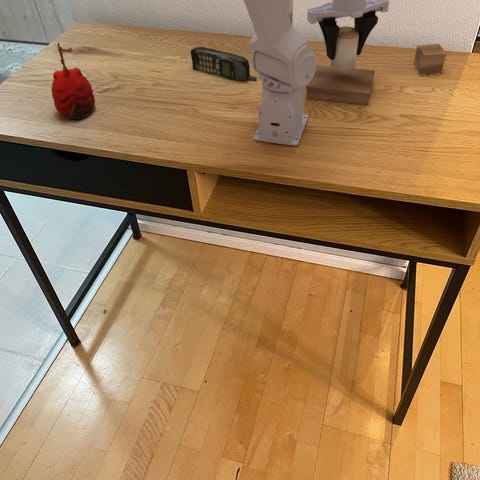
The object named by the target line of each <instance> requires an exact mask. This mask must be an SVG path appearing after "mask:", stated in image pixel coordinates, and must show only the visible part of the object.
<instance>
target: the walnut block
mask: <svg viewBox="0 0 480 480" xmlns="http://www.w3.org/2000/svg"><path fill="white" fill-rule="evenodd" d="M446 56H447V52H446V51H445V49H444V48H443V47H442V46H441V45H440V43H430V44H417V45H416V50H415V54H414V58H413V65H414V66H415V67H414V66H413V65H412V66H413V67H414V69H415V68H416V69H415V71H416V70H417V71H418V72H417V71H416V72H417V74H418V73H419V74H420V75H419V74H418V75H419V76H422V75H421V74H434V75H437V74H436V73H441V74H442V71H443V68H444V64H445V60H446Z"/></svg>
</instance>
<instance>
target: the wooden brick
mask: <svg viewBox="0 0 480 480" xmlns="http://www.w3.org/2000/svg"><path fill="white" fill-rule="evenodd" d="M375 72H376V70H375V69H374V70H373V69H366V68H365V69H363V68H355V67H354V68H353V69H352V70H349V71H338V70H335V69H333V68H332V67H331V65H324V64H317V66H316V71H315V74H314V76H313V78H312V80H311V81H310V82H309V83H308V84H307V85H306V86H305V90H306V97H305V98H306V99H312V100H321V101H331V102H337V103H338V102H339V103H347V104H355V105H356V104H357V105H362V106H364V105H366V106H367V105H368V101H369V98H370V94H371V91H372V86H373V81H374V77H375V74H376V73H375Z"/></svg>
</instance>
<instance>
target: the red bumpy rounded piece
mask: <svg viewBox="0 0 480 480" xmlns="http://www.w3.org/2000/svg"><path fill="white" fill-rule="evenodd" d="M54 46H55V47H56V49H57V50H58V54H59V56H60V60H59V61H60V64H61V65H62V70H55V71H54V72H53V74H52V76H53V81H52V84H51V90H50V91H51V93H52V94H51V97H52V100H53V105H54V108H55V109H56V112H57V113H59V114H60V115H61V116H62V117H64V118H67V119H71V120H72V119H74V120H77V119H82V118H84V117H86V116H88V115H89V114H90V113H91V112H92V111H93V110H94V109H95V106H96V97H95V94H94V90H93V88H92V85H91V83H90V81H88V79H87V77H85V76H84V75H83V73H82V70H81V69H80V68H78V67H74V68H68V67H67V65H66V64H65V63H66V62H65V59H64V55H63V54H64V53H65V52H67V53H71V54H72V53H74V52H73V48H72V47H69V48H68V49H67V48H63V47H62V46H61V45H60V43H59V42H58V43H57V45H56V44H54ZM63 52H64V53H63Z"/></svg>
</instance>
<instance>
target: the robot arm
mask: <svg viewBox="0 0 480 480" xmlns="http://www.w3.org/2000/svg"><path fill="white" fill-rule="evenodd" d="M243 2H244V5H245V8H246V10H247V12H248V15H249V18H250V21H251V24H252V27H253V29H254V32H255V33H254V34H253V36H252V37H251V39H250V41H249V43H248V45H249V48H250V52H251V55H250V56H251V57H250V58H251V65H252V66H251V67H252V69H253V70H254V71H255V72H256V73H258V80H260V81H261V90H262V93H261V97H262V98H261V102H260V105H259V107H258V110H257V111H258V113H257V114H258V115H257V116H258V127H257V129H256V131H255V134H254V136H253V140H254V141H259V142H266V143H273V144H279V145H287V146H288V145H289V146H294V147H295V146H299V143H300V142H301V141H300V140H301V137H302V136H303V134H304V130H305V127H306V124H307V122H308V120H309V115H308V114H304V103H305V102H304V101H305V88H306V85H307V84H308V83H309V82H310V81H311V80H312V78H313V76H314V74H315V71H316V66H317V65H318V64H317V63H318V62H317V55H316V53H315V52H314V51H313V50H312V49H311V48H310V46H309V43H308V41H307V40H306V39H305V38H304V37H303V35H301V33H300V32H299V31H298V30H296V29H295V28H294V26H293V25H292V24H291V21H290V17H289V14H288V10H287V7H286V3H285V0H243ZM389 5H390V0H332V1H330V2H327V3H324V4H321V5H318V6H316V7H311V8H307V12H306V13H307V15H306V16H307V17H306V20H307V22H309V24H310V25H315V24H318V26H319V27H320V28H319V29H320V30H321V33H322V36H323V39H324V43H325V49H326V51H325V52H326V56H327V57H328V59H329V60H330V61H331V60H334V59H335V53H336V42H337V37H338V33H339V30H340V27H341V26H338V24H337V22H338V20H337V21H336V19H342V18H348V17H350V18H353V19H354V22H353V23H354V25H353V26H354V27H353V28H355V29H357V30H358V33H359V40H358V48H357V56H361V53H362V51H363V47H364V46H365V44H366V41H367V39H368V37H369V35H370V33H371V32H372V31H373V29H374V28H375V27H376V26H377V24H378V21H379V17H378V16H377V14H376V13H377V12H381V13H388V12H389Z"/></svg>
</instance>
